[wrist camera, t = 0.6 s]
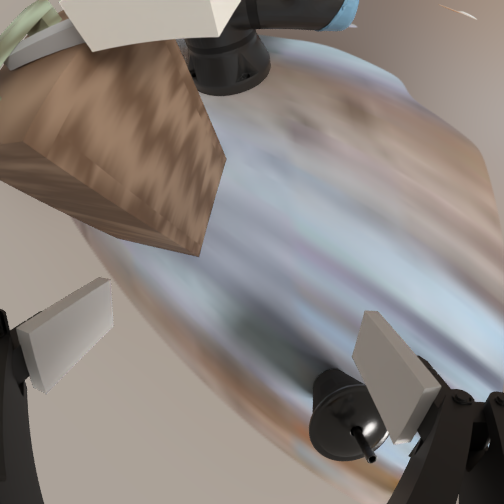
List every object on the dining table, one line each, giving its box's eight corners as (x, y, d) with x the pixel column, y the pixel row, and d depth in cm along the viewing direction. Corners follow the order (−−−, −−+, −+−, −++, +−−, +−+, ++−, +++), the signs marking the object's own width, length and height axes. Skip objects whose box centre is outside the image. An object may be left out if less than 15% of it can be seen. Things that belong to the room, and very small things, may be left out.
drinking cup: (296, 409, 33) (301, 498, 13) (308, 355, 34) (331, 405, 15) (352, 415, 32) (401, 496, 12) (365, 362, 33) (437, 408, 14)
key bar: (30, 45, 12) (6, 18, 8) (242, -3, 10) (232, -64, 6) (2, 83, 11) (-27, 56, 8) (218, 37, 9) (199, -40, 5)
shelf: (147, 151, 43) (23, 5, 11) (226, 158, 41) (134, -52, 9) (117, 238, 41) (-71, 139, 8) (198, 256, 39) (-21, 109, 6)
